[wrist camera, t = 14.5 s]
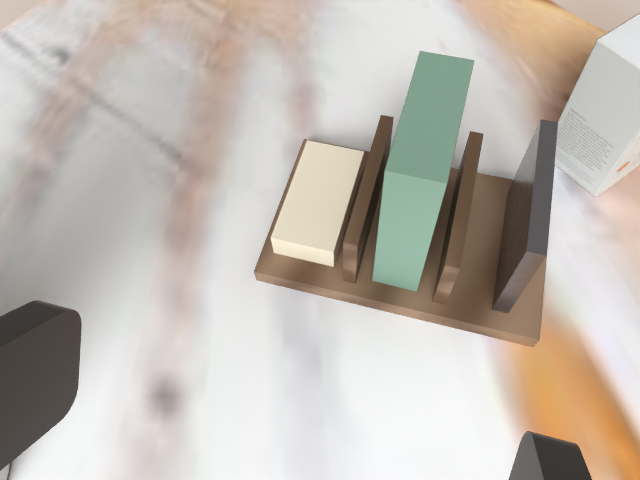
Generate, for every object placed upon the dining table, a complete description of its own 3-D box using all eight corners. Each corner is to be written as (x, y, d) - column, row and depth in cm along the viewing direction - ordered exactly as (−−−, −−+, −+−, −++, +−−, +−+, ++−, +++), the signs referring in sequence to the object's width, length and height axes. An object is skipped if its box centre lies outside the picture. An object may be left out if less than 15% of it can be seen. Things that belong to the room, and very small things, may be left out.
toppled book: (273, 253, 45) (270, 237, 43) (308, 157, 50) (307, 140, 47) (333, 266, 44) (333, 252, 42) (363, 169, 49) (364, 151, 47)
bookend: (491, 309, 42) (526, 251, 34) (507, 193, 47) (540, 119, 39) (508, 313, 41) (546, 255, 34) (521, 196, 47) (558, 122, 39)
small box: (598, 113, 53) (668, -8, 42) (654, 155, 50) (744, 37, 39) (539, 154, 51) (595, 37, 40) (594, 199, 48) (671, 88, 37)
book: (372, 280, 43) (384, 170, 31) (399, 180, 48) (419, 50, 36) (416, 291, 43) (447, 183, 31) (440, 188, 47) (474, 60, 35)
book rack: (256, 280, 45) (242, 232, 39) (304, 149, 52) (299, 90, 45) (533, 346, 42) (568, 307, 35) (546, 197, 48) (578, 141, 42)
